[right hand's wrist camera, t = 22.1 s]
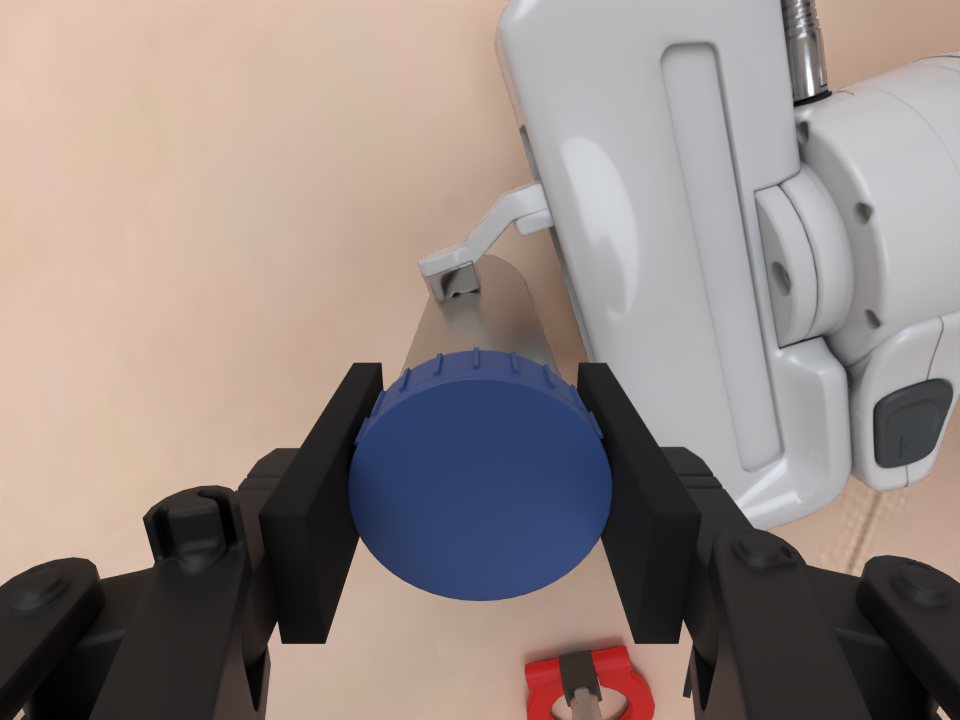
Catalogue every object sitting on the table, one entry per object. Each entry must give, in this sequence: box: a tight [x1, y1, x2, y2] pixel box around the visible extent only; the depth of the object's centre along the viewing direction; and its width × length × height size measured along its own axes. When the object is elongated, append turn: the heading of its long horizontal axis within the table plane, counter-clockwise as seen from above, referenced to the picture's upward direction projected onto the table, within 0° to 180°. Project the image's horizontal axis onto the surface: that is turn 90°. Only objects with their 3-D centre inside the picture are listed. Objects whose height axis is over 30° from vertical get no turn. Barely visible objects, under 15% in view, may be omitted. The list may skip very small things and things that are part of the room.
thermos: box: [399, 255, 562, 379], centre depth 18 cm, size 5×5×15 cm
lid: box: [348, 347, 613, 601], centre depth 11 cm, size 6×6×2 cm
